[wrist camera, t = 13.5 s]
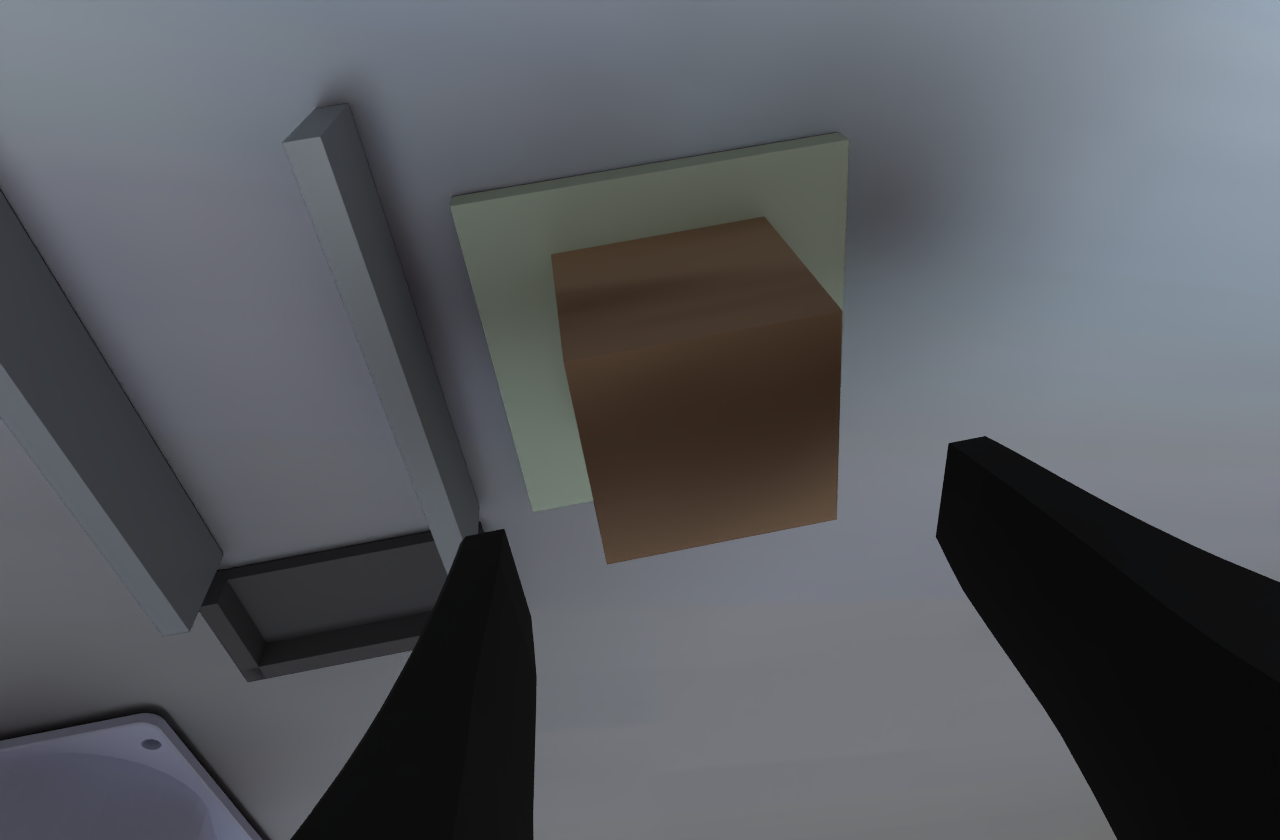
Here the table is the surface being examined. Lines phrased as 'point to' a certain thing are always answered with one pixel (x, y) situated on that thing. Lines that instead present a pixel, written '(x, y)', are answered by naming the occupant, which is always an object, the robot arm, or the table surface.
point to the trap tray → (326, 606)
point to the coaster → (610, 213)
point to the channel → (119, 442)
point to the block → (701, 386)
